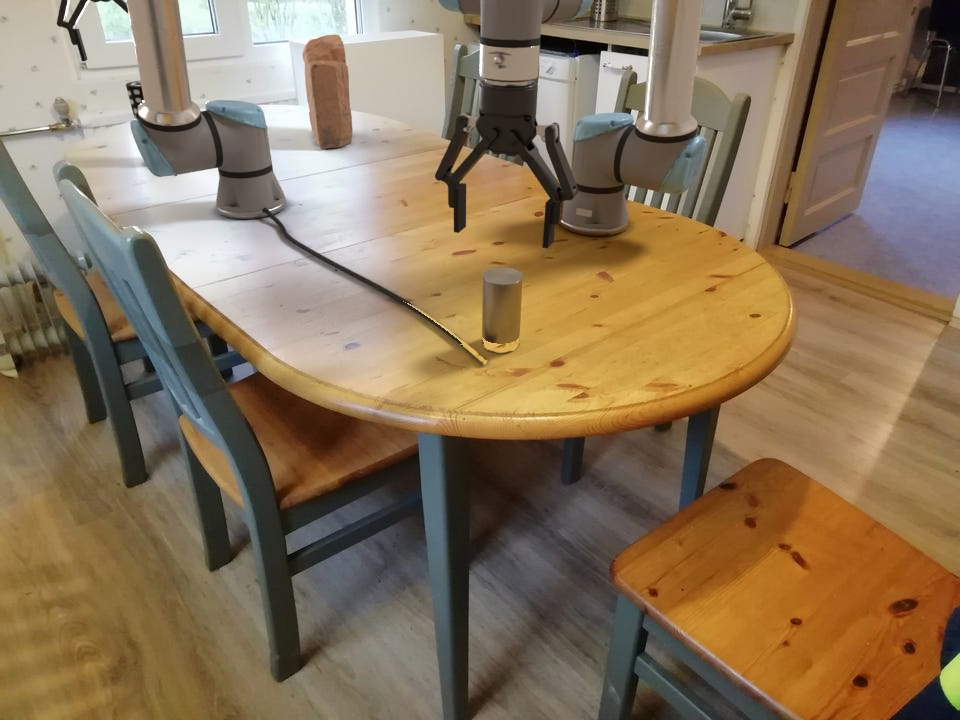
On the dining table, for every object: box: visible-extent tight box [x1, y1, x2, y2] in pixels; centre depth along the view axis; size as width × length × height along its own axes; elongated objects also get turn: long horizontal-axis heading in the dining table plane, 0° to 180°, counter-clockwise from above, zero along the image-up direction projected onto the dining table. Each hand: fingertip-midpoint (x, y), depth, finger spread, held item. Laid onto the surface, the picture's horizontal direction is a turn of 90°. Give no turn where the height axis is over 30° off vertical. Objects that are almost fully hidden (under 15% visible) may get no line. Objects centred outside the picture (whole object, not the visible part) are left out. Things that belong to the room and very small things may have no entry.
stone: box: [302, 34, 354, 149], centre depth 199 cm, size 22×11×28 cm, turn 18°
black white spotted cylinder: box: [125, 80, 144, 120], centre depth 181 cm, size 8×8×20 cm
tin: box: [481, 266, 524, 345], centre depth 106 cm, size 6×6×12 cm
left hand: (116, 59), depth 161 cm, fingers open, 13 cm apart
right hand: (503, 237), depth 99 cm, fingers open, 13 cm apart
